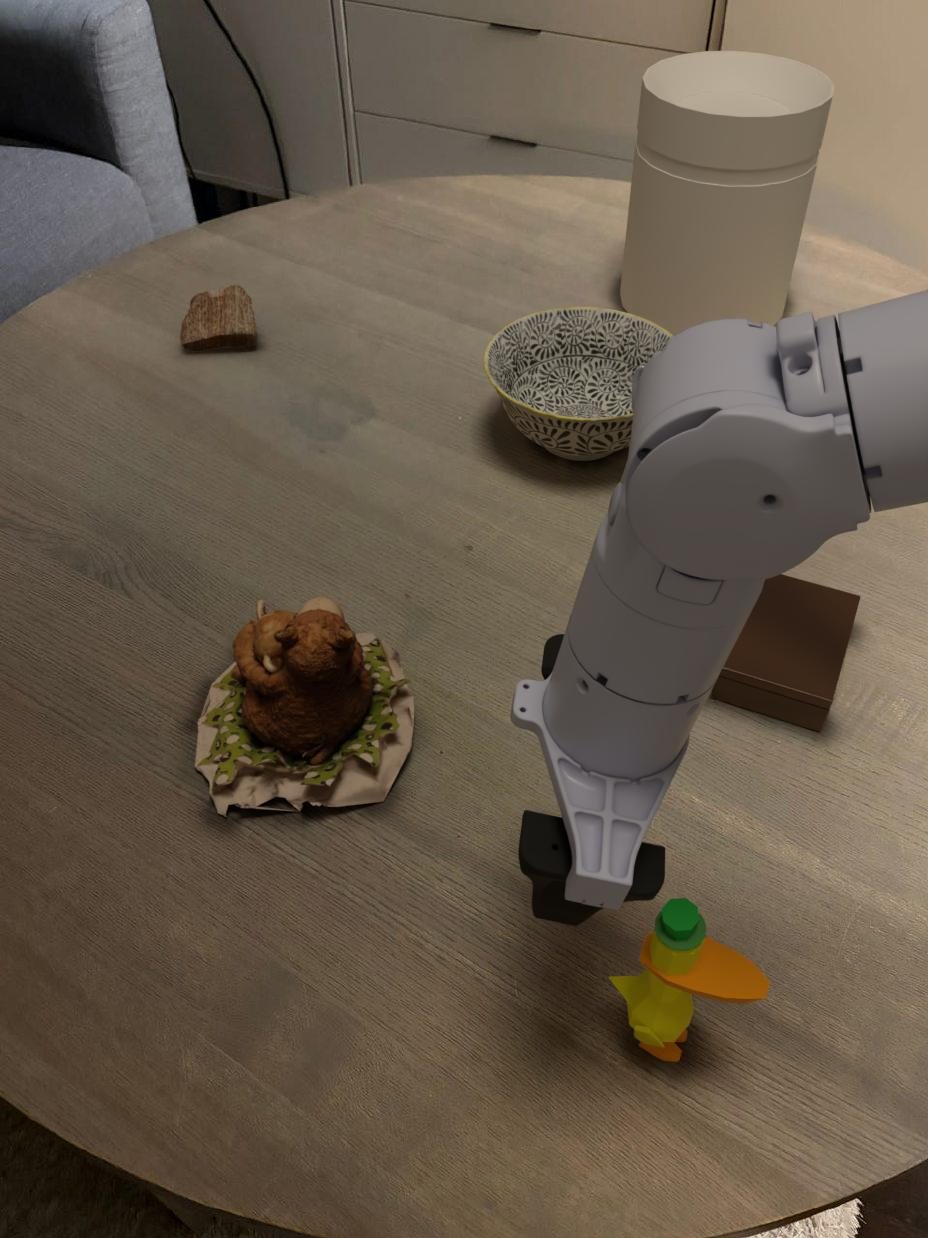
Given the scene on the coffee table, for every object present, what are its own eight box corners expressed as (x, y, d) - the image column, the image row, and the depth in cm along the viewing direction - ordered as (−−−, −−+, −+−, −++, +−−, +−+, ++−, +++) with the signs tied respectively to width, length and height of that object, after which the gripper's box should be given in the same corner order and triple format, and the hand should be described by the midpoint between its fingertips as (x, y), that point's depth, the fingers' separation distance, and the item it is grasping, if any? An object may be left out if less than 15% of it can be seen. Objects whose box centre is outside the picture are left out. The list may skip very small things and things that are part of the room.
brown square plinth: (820, 732, 65) (832, 701, 63) (710, 698, 67) (717, 666, 65) (849, 626, 71) (861, 595, 69) (747, 598, 73) (755, 566, 71)
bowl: (654, 515, 80) (667, 433, 74) (457, 474, 83) (456, 394, 78) (691, 402, 90) (705, 323, 85) (515, 370, 94) (518, 293, 89)
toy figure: (741, 1035, 52) (793, 913, 43) (725, 1104, 49) (776, 991, 41) (610, 985, 54) (635, 859, 45) (589, 1050, 51) (610, 930, 43)
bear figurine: (418, 633, 71) (410, 492, 62) (411, 820, 61) (399, 682, 52) (218, 635, 71) (182, 494, 63) (176, 822, 61) (126, 684, 52)
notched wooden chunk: (192, 360, 100) (176, 348, 95) (185, 299, 100) (170, 283, 95) (266, 352, 100) (255, 340, 95) (260, 291, 100) (248, 275, 95)
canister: (789, 347, 96) (844, 121, 82) (615, 335, 98) (638, 111, 84) (780, 265, 107) (826, 54, 93) (623, 255, 109) (645, 46, 95)
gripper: (553, 494, 43) (497, 699, 53) (513, 784, 33) (453, 970, 43) (722, 530, 43) (634, 728, 53) (733, 831, 33) (622, 1005, 43)
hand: (563, 838), depth 48 cm, fingers open, 7 cm apart
